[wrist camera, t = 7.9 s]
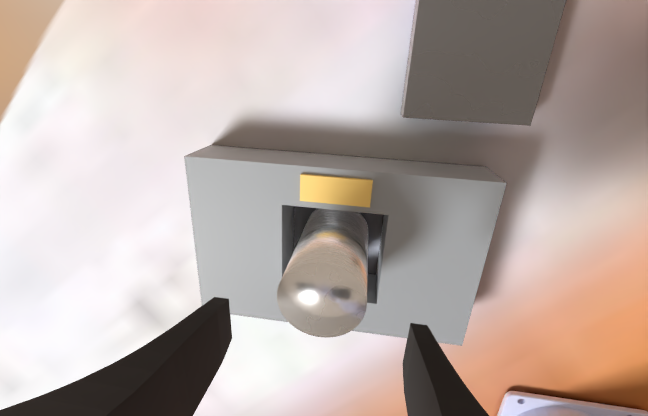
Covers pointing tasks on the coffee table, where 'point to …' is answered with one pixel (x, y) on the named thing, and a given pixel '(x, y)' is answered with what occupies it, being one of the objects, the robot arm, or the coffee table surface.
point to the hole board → (356, 196)
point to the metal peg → (327, 275)
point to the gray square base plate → (479, 59)
